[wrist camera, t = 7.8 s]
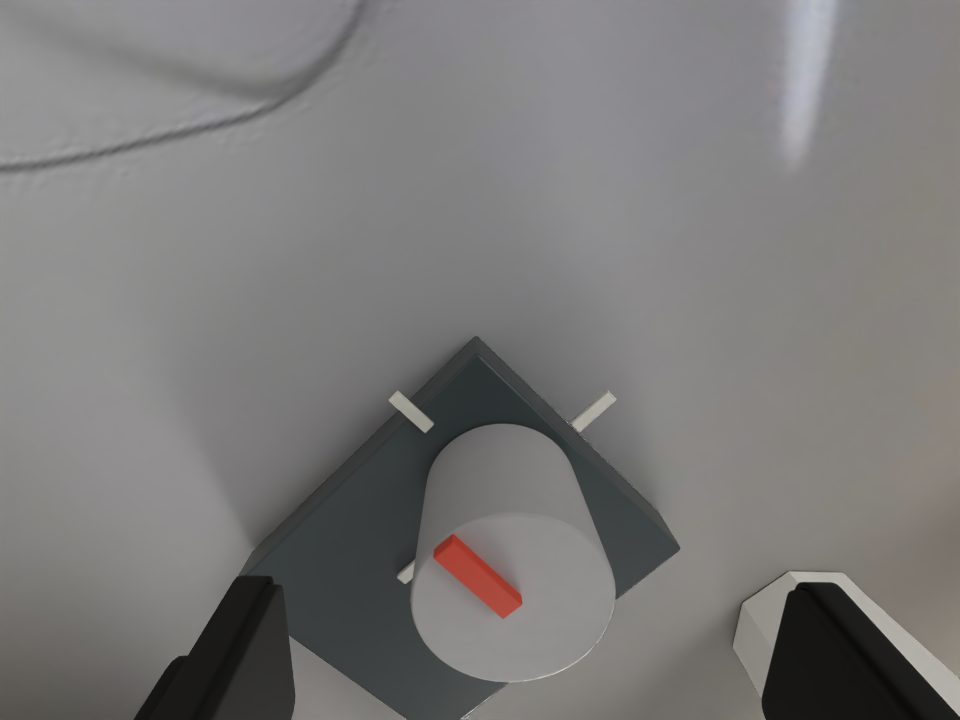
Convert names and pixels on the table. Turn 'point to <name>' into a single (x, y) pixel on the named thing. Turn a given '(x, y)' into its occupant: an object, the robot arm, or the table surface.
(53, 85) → the table surface
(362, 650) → the dial base plate
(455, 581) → the tap knob
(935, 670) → the cup
